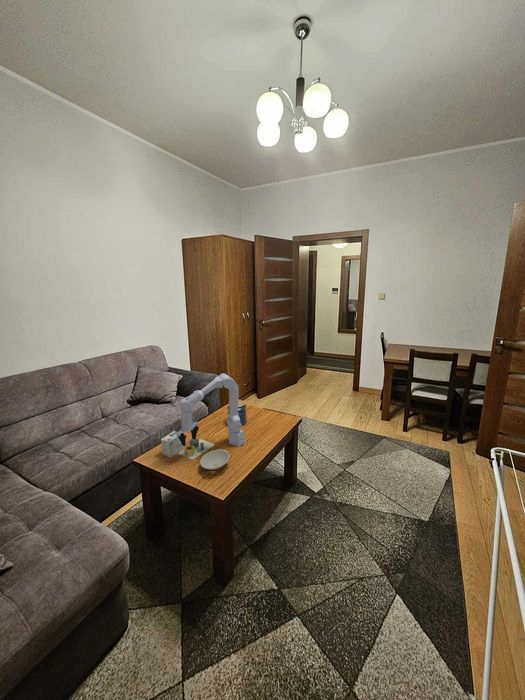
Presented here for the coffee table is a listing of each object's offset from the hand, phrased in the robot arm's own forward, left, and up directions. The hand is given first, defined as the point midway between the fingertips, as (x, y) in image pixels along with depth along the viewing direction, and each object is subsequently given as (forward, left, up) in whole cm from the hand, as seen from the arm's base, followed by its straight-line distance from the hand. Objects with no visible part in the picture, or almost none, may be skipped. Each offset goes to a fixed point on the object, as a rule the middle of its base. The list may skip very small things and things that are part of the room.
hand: (188, 442), depth 163 cm
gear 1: (+3, -7, -7) cm, 11 cm away
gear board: (0, -6, -8) cm, 10 cm away
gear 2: (0, 0, -7) cm, 7 cm away
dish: (-20, 0, -8) cm, 21 cm away
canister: (+1, -46, -8) cm, 47 cm away
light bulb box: (+10, +3, -9) cm, 14 cm away
